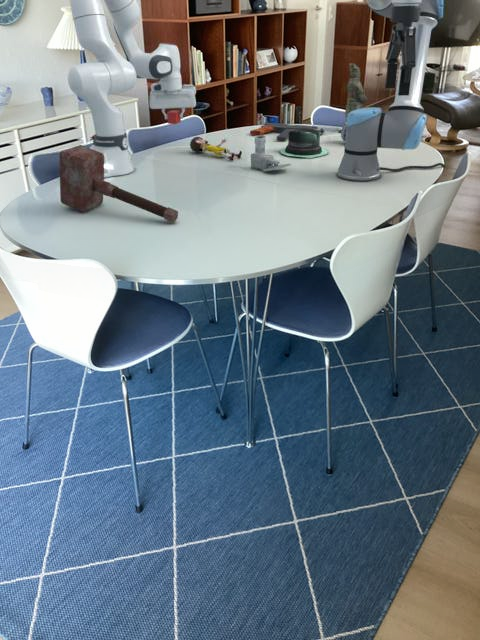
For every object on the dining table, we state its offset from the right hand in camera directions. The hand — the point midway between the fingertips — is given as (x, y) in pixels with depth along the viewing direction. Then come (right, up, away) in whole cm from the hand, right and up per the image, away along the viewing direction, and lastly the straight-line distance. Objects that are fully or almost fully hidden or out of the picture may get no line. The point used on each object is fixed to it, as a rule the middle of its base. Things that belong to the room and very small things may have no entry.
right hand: (396, 91), depth 157 cm
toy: (+7, +14, +90) cm, 91 cm away
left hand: (-73, +24, +88) cm, 117 cm away
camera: (-33, -7, +57) cm, 66 cm away
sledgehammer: (-81, -31, +17) cm, 89 cm away
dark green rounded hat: (-17, +7, +79) cm, 81 cm away
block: (-73, +23, +89) cm, 117 cm away
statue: (+11, +27, +113) cm, 117 cm away
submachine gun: (-23, +23, +107) cm, 112 cm away
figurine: (-55, +5, +77) cm, 95 cm away
